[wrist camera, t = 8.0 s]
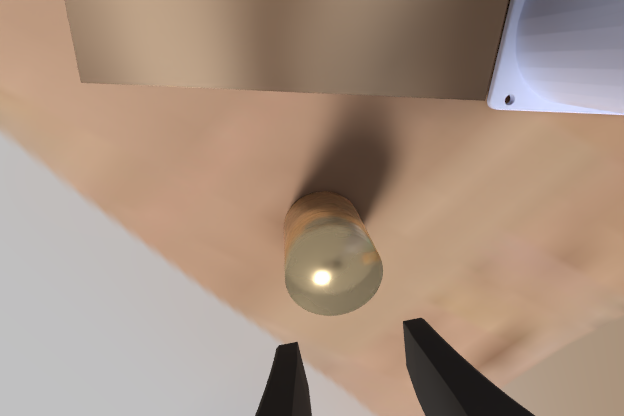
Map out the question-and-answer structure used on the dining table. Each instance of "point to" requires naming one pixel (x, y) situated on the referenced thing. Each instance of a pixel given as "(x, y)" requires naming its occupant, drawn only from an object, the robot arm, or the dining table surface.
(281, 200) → the dining table surface
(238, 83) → the box lid
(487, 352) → the dining table surface
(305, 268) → the cylinder
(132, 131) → the dining table surface
